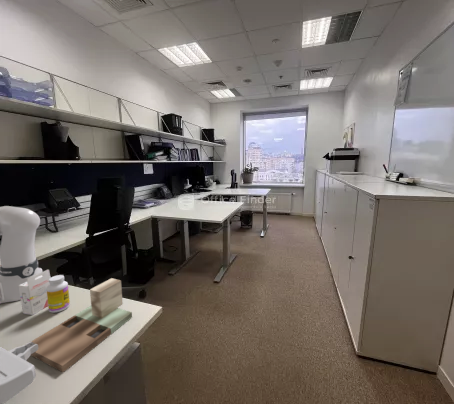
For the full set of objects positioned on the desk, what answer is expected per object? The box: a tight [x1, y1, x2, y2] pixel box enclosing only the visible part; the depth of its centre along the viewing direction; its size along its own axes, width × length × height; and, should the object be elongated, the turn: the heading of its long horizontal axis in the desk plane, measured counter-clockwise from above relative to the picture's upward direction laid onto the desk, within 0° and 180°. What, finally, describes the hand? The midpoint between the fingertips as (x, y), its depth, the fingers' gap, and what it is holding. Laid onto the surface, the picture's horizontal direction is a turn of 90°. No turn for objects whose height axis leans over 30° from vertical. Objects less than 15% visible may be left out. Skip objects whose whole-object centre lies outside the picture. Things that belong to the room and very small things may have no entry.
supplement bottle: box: [46, 274, 71, 314], centre depth 84 cm, size 7×7×13 cm
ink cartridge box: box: [19, 269, 51, 316], centre depth 84 cm, size 9×5×15 cm, turn 168°
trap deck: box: [30, 305, 133, 373], centre depth 72 cm, size 18×24×2 cm
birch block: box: [89, 277, 124, 318], centre depth 81 cm, size 5×9×10 cm, turn 158°
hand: (35, 344), depth 59 cm, fingers closed
